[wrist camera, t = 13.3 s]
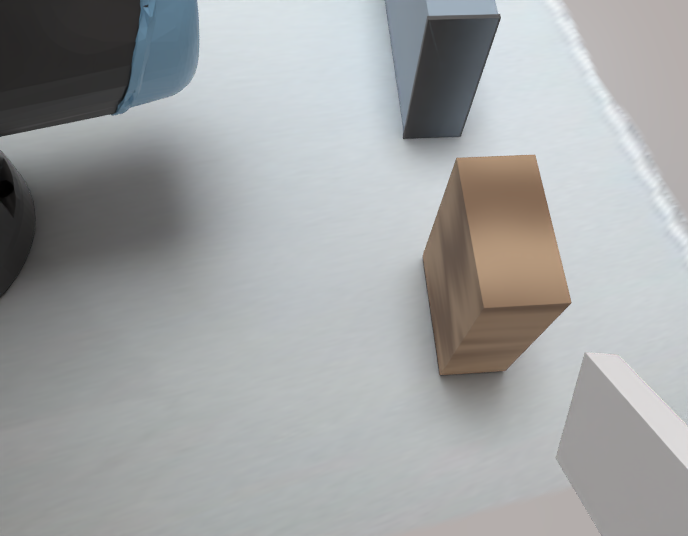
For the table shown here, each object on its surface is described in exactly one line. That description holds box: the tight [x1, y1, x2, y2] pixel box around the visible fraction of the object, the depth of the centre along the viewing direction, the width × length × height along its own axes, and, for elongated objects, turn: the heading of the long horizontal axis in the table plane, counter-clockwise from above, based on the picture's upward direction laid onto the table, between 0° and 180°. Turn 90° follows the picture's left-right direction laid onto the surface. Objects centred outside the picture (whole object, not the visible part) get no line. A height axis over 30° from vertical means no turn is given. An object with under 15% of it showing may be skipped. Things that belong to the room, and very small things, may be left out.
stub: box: [423, 155, 571, 375], centre depth 35 cm, size 8×4×11 cm, turn 5°
